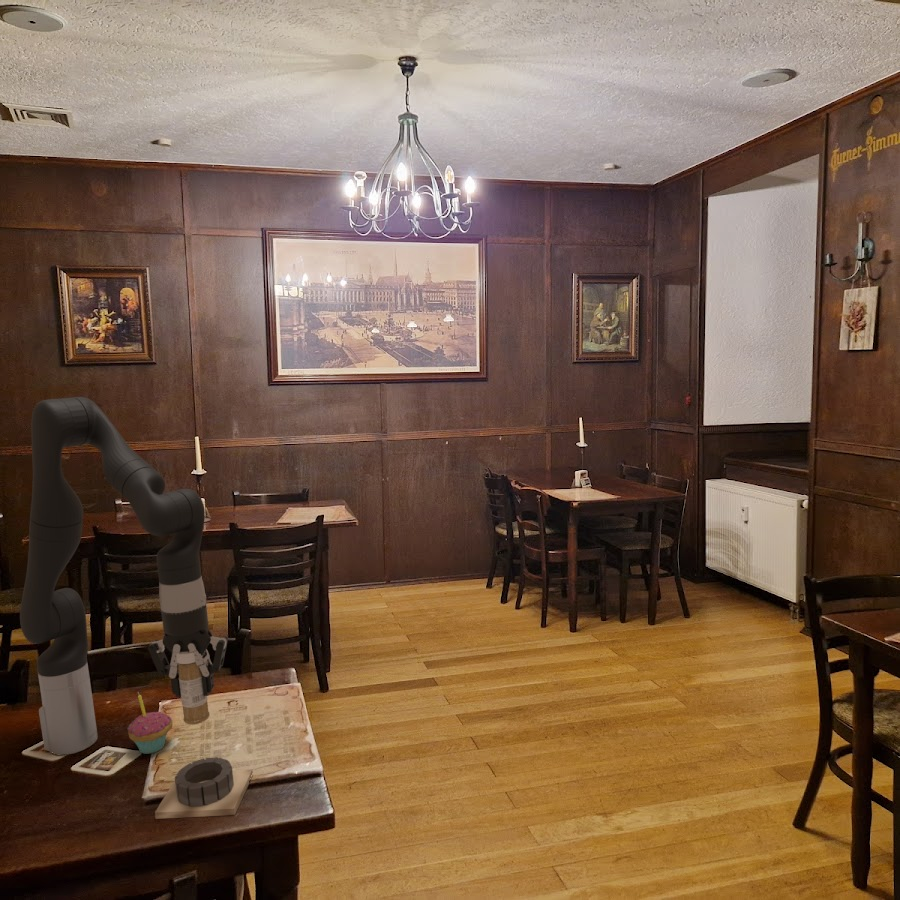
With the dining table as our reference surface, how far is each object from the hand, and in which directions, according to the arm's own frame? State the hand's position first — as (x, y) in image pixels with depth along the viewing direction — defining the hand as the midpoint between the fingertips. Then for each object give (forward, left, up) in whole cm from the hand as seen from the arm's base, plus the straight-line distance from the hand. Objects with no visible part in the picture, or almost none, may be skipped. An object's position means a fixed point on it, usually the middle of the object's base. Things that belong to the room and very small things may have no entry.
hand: (194, 694), depth 135 cm
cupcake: (-17, +18, -20) cm, 32 cm away
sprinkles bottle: (0, 0, -5) cm, 5 cm away
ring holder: (0, 0, -20) cm, 20 cm away
